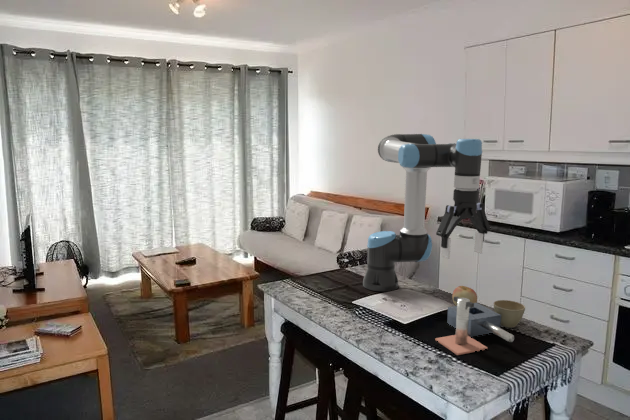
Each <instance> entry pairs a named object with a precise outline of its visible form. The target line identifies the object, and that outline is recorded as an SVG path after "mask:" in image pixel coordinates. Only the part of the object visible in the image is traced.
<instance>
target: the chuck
mask: <svg viewBox="0 0 630 420" xmlns="http://www.w3.org/2000/svg"><path fill="white" fill-rule="evenodd" d="M456 316H457V306H455V305H453V306H448V307H447V319H446V320H447V322H446V323H448V324H449V325H448V324H447V325H448V326H450V325H451V326H450V327H452V326H453V327H454V329H455V328H456ZM501 326H502V325H501V315H500V314H498V313H496V312H495V311H494V310H492V309H490V308H488V307H486V306H484V305H482V304H480V303H478V302H477V303H474V307H472V308H470V307H469V322H468V336H469V337H472V338H474V337H473V336H477V337H479V336H478V335H482V336H484V335H483V334H488V335H490V334H489V333H493V334H494V335H496V336H498V337H500V338H501V339H503V340H505V341H507V342H509V343H513V342H514V340H515V335H513V334H512V333H509V332H508V331H506V330H504V329H503V328H501ZM453 327H452V328H453Z"/></svg>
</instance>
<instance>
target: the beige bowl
mask: <svg viewBox="0 0 630 420" xmlns="http://www.w3.org/2000/svg"><path fill="white" fill-rule="evenodd" d="M493 311H494V312H496V313H498V314H500V315H501V325H500V326H502V327H505V328H511V329H512V328H516V326H517V325H518V324H519V323H520V322H521V321H522V318H523V316H524V314H525V311H526V306H525V305H524V304H523V303H521V302H518V301H515V300H507V299H500V300H495V301H494V302H493Z"/></svg>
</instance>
